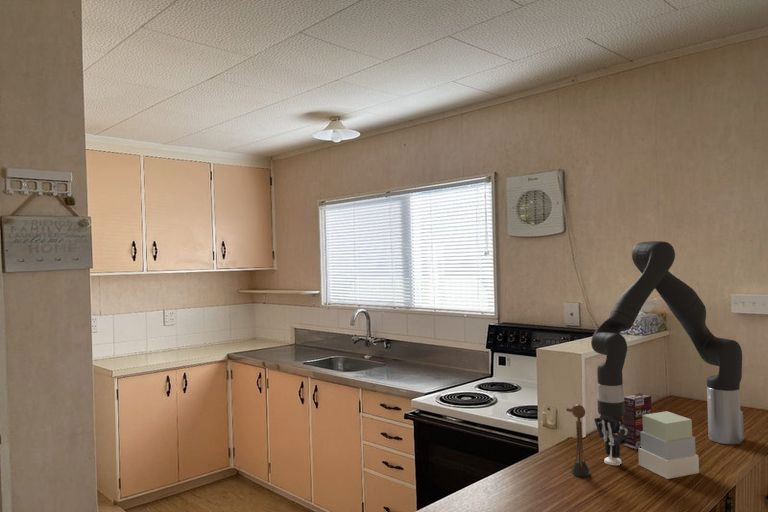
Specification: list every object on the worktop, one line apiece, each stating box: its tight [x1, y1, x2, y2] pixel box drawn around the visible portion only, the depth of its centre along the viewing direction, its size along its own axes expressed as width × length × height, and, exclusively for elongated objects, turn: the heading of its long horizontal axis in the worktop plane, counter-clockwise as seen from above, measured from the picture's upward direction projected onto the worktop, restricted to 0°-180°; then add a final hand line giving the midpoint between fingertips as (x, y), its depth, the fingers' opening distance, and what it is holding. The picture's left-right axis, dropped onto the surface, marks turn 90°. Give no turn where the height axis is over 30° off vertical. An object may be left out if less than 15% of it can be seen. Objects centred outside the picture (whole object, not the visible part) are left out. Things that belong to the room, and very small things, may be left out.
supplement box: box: [622, 393, 653, 450], centre depth 184 cm, size 9×5×16 cm, turn 119°
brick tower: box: [637, 410, 700, 480], centre depth 164 cm, size 11×11×15 cm
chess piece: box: [603, 436, 623, 466], centre depth 170 cm, size 5×5×10 cm
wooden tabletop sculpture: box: [565, 404, 591, 478], centre depth 163 cm, size 6×5×20 cm
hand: (612, 455), depth 170 cm, fingers closed on chess piece
